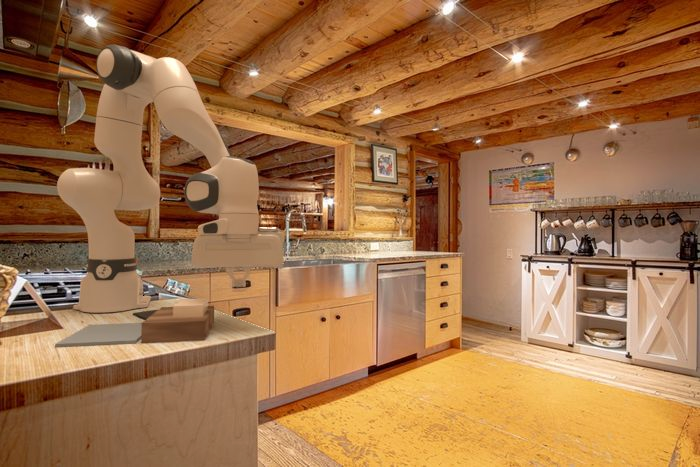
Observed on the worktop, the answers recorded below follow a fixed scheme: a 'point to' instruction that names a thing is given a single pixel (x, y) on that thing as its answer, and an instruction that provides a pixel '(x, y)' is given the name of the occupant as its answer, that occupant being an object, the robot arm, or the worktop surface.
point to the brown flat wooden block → (176, 326)
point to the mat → (104, 335)
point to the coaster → (190, 308)
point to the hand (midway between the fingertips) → (238, 286)
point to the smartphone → (144, 314)
